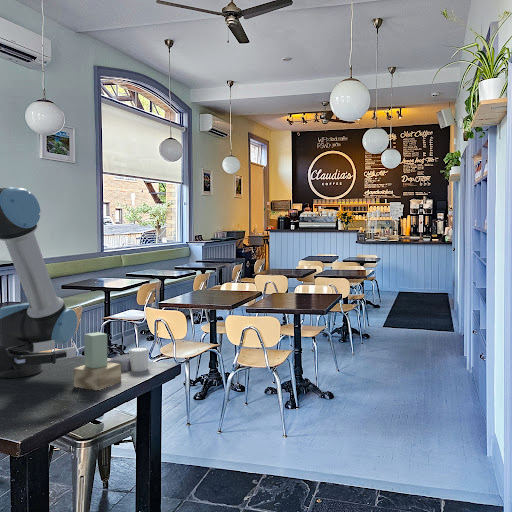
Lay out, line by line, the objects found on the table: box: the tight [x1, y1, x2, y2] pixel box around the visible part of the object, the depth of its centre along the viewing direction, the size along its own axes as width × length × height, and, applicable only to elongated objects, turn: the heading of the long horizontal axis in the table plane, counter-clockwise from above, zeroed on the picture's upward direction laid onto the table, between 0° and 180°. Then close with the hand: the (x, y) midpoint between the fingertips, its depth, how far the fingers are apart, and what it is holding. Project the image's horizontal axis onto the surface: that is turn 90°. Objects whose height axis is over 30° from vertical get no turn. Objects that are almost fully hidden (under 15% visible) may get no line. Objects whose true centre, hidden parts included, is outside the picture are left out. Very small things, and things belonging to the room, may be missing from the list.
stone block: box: [107, 353, 131, 372], centre depth 190 cm, size 12×5×10 cm
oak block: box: [73, 362, 122, 391], centre depth 169 cm, size 10×10×6 cm
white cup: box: [128, 346, 150, 372], centre depth 186 cm, size 7×7×7 cm
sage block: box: [83, 331, 108, 369], centre depth 168 cm, size 5×5×10 cm
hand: (64, 347), depth 161 cm, fingers open, 13 cm apart
